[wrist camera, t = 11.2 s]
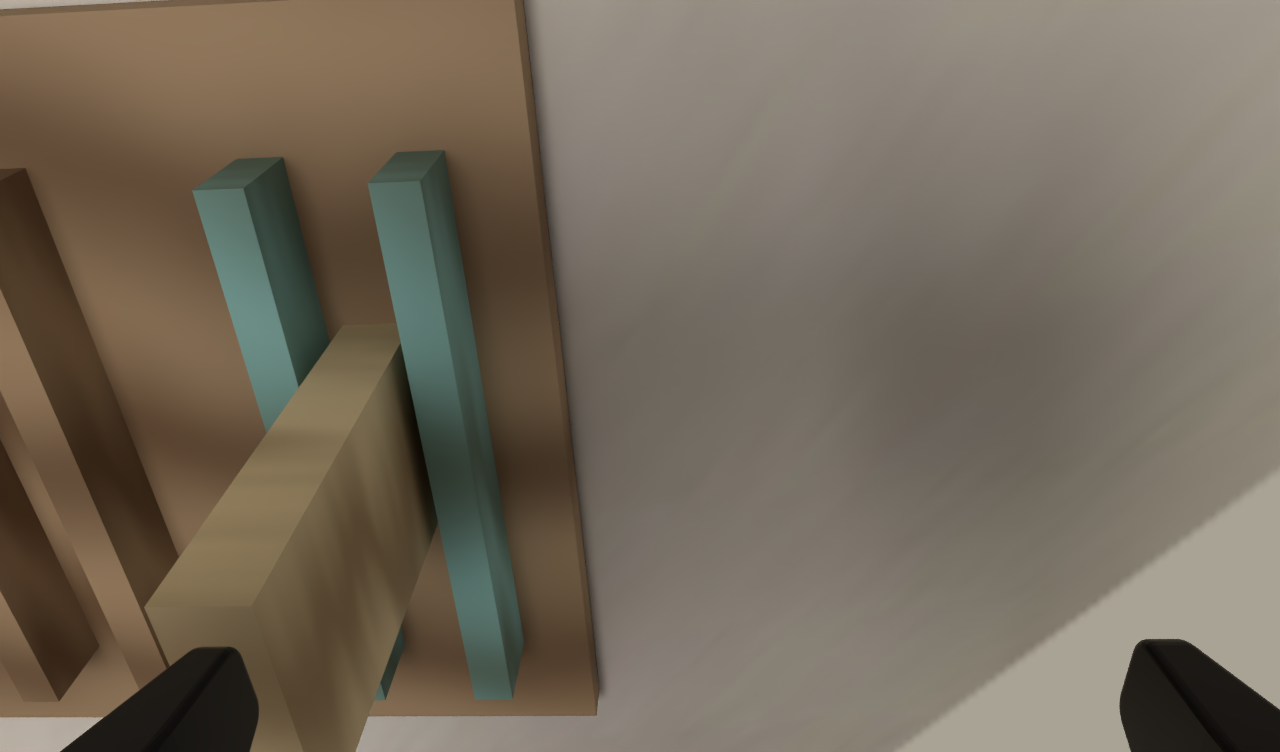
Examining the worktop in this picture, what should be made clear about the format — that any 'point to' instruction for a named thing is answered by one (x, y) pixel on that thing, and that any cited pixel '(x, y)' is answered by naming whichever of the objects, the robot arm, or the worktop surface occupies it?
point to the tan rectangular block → (313, 549)
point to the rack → (277, 324)
